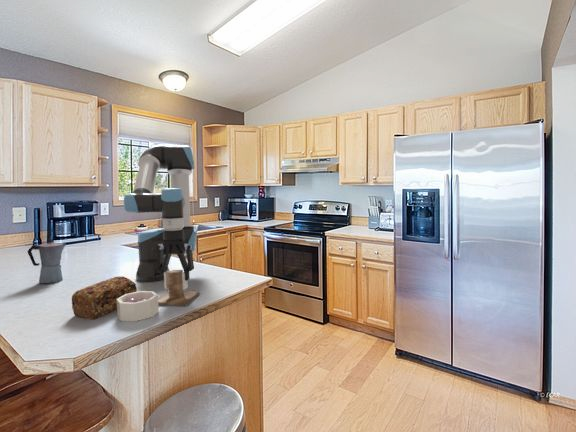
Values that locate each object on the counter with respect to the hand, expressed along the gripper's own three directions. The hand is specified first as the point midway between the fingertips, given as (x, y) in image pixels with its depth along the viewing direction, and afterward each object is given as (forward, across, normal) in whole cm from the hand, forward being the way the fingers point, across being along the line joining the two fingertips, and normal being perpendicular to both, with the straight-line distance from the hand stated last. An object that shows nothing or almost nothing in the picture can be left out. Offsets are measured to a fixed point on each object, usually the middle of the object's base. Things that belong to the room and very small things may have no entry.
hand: (176, 288), depth 123 cm
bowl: (+4, -7, -14) cm, 17 cm away
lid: (+4, 0, 0) cm, 4 cm away
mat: (+4, 0, 0) cm, 4 cm away
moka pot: (+5, -70, +18) cm, 73 cm away
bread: (+5, -21, -11) cm, 24 cm away
